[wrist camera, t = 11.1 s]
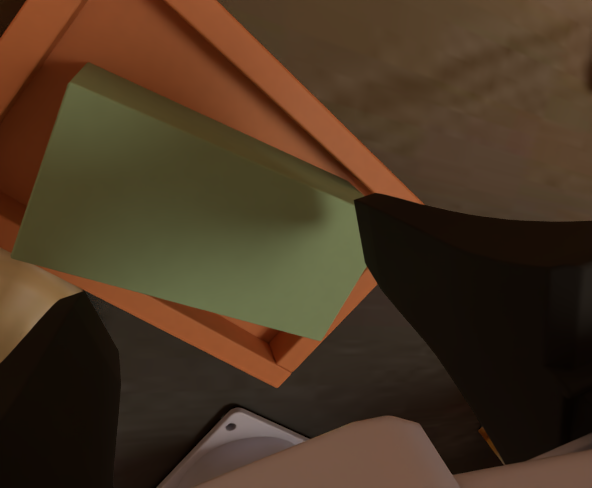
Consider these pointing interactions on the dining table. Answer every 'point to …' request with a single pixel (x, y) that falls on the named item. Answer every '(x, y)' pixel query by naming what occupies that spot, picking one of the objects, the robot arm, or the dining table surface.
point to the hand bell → (25, 298)
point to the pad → (189, 211)
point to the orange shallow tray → (190, 93)
